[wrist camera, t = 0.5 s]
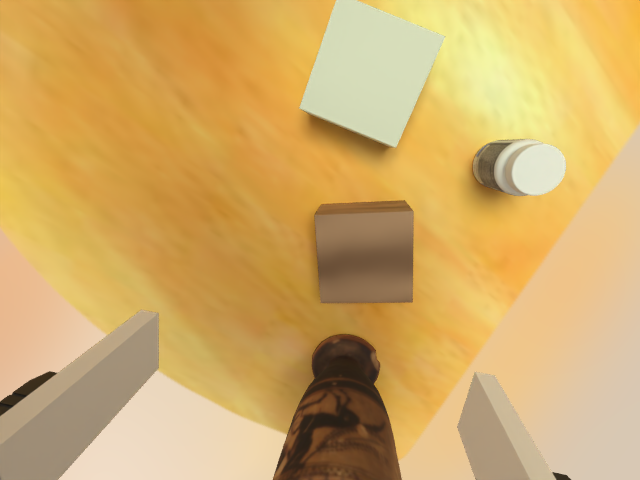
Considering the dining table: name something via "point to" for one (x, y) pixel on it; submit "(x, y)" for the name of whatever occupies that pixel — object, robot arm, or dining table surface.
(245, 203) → the dining table surface
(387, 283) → the walnut block
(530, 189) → the pill bottle
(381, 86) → the sage block
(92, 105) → the dining table surface
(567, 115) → the dining table surface
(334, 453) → the vase
